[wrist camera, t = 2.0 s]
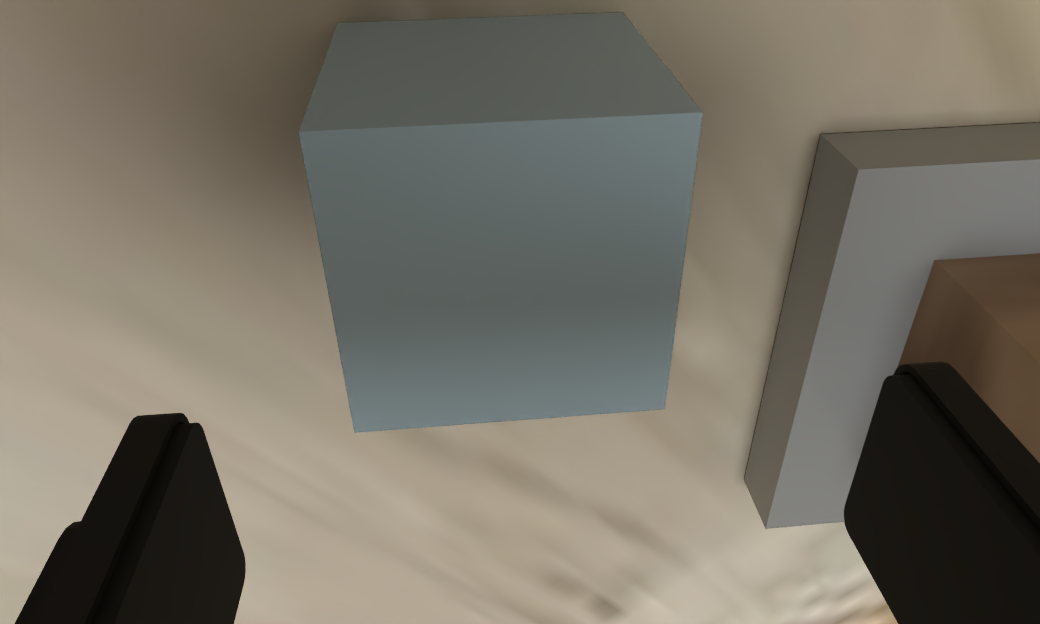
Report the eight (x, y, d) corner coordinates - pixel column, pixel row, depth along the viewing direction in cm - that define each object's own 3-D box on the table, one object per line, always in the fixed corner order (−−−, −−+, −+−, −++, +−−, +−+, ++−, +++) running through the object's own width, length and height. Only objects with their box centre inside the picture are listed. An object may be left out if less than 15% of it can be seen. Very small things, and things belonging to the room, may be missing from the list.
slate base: (821, 134, 18) (858, 169, 17) (1284, 109, 19) (1362, 140, 18) (743, 479, 25) (765, 528, 24) (1087, 450, 26) (1131, 495, 25)
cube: (338, 21, 16) (298, 131, 11) (621, 11, 17) (702, 112, 12) (373, 266, 20) (354, 432, 15) (607, 252, 20) (664, 409, 15)
